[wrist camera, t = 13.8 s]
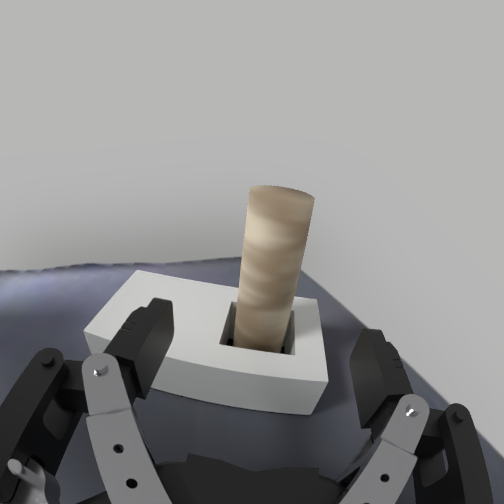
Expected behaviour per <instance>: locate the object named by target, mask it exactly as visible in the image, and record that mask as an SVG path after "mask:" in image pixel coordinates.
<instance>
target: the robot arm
mask: <svg viewBox="0 0 504 504" xmlns="http://www.w3.org/2000/svg"><path fill="white" fill-rule="evenodd" d="M173 336H174V317H173V303H172V301H171V300H166V299H161V298H156V297H154V298H153V299H152V300H151V302H150V303H149V305H148V306H147V307H142V306H141V307H139V308H138V309H136V310H134V311H133V312H131V314H130V315H129V317H128V318H127V319H126V322H124V323H123V325H122V326H121V329H119V330H118V332H117V333H116V335H115V336H114V337H113V339H112V340H111V342H110V343H109V345H108V346H107V347H106V349H105V350H104V352H103V353H97V354H93V355H91V356H89V357H88V358H87V359H86V360H85V361H72V360H65V359H64V357H63V355H62V353H61V352H60V351H59V350H57V349H54V348H46V349H43V350H41V351H39V352H38V353H37V354H36V355H35V356H34V358H33V359H32V361H31V362H30V363H29V365H28V366H27V367H26V369H25V370H24V372H23V373H22V375H21V376H20V377H19V379H18V380H17V382H16V383H15V385H14V386H13V388H12V389H11V391H10V392H9V394H8V395H7V397H6V398H5V400H4V402H3V403H2V405H1V407H0V504H60V502H59V497H60V486H59V483H58V481H57V479H56V478H55V475H56V472H57V470H58V467H59V465H60V462H61V460H62V458H63V455H64V453H65V451H66V448H67V446H68V444H69V441H70V439H71V437H72V435H73V433H74V430H75V428H76V426H77V424H78V422H79V420H80V418H81V416H82V414H83V412H84V413H89V416H87V417H86V421H87V426H88V431H89V435H90V439H91V443H92V447H93V450H94V454H95V458H96V461H97V464H98V467H99V471H100V474H101V477H102V480H103V482H104V485H105V488H106V491H104V492H102V493H100V494H98V495H95V496H93V497H91V498H89V499H86V500H84V501H81V502H79V503H76V504H395V502H396V501H397V499H398V497H399V495H400V494H401V492H402V490H403V488H404V486H405V484H406V482H407V480H408V478H409V476H410V474H411V472H412V471H413V478H414V487H415V497H416V504H493V498H492V492H491V487H490V482H489V477H488V472H487V468H486V464H485V460H484V456H483V453H482V449H481V445H480V442H479V439H478V436H477V432H476V429H475V426H474V423H473V421H472V418H471V415H470V413H469V411H468V409H467V408H466V407H464V406H463V405H461V404H457V403H454V404H451V405H450V406H449V407H448V408H447V409H446V410H445V411H442V410H436V409H431V408H429V406H428V404H427V403H426V401H425V400H424V399H423V398H421V397H420V396H418V395H415V394H414V393H413V391H412V388H411V385H410V382H409V380H408V377H407V374H406V372H405V369H404V368H403V367H404V366H403V364H402V361H400V356H399V354H398V351H397V350H396V349H395V347H394V346H393V345H392V344H391V343H390V342H386V340H385V337H384V335H383V333H382V331H381V330H376V329H363V330H362V332H361V334H360V336H359V339H358V341H357V343H356V345H355V347H354V349H353V352H352V354H351V357H350V371H351V376H352V381H353V386H354V391H355V396H356V402H357V407H358V413H359V419H360V425H361V429H364V428H371V432H372V433H371V434H370V435H369V437H368V438H367V440H366V441H365V443H364V444H363V446H362V447H361V449H360V450H359V452H358V453H357V455H356V456H355V458H354V459H353V460H352V462H351V463H350V465H349V466H348V467H347V468H346V470H345V471H344V472H343V473H342V474H341V475H340V476H339V477H338V478H337V479H336V480H335V481H334V480H332V479H330V478H327V477H324V476H321V475H319V468H288V467H287V468H281V469H275V470H268V471H259V472H252V471H248V470H246V469H243V468H240V467H237V466H235V465H232V464H229V463H227V462H224V461H222V460H218V459H212V458H207V457H202V456H198V455H193V454H189V453H188V457H187V460H173V461H168V462H164V463H160V464H157V463H156V461H155V459H154V457H153V454H152V452H151V450H150V448H149V446H148V444H147V441H146V439H145V436H144V434H143V431H142V429H141V426H140V423H139V421H138V418H137V415H136V412H135V409H134V407H133V403H134V401H135V398H136V397H138V398H141V399H144V400H145V399H146V396H147V394H148V392H149V390H150V388H151V385H152V383H153V381H154V379H155V377H156V375H157V372H158V370H159V368H160V366H161V364H162V362H163V360H164V357H165V355H166V353H167V351H168V349H169V347H170V345H171V343H172V340H173ZM444 449H445V451H446V456H447V460H448V465H449V468H448V472H447V474H446V470H445V465H444V460H443V455H442V450H444Z"/></svg>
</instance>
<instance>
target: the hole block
mask: <svg viewBox="0 0 504 504" xmlns="http://www.w3.org/2000/svg"><path fill="white" fill-rule="evenodd" d="M238 290H239V288H235V287H228V286H222V285H216V284H211V283H205V282H199V281H193V280H188V279H182V278H177V277H171V276H166V275H161V274H156V273H150V272H145V271H140V270H137V271H136V272H135V273H134V274H133V275H132V276H131V277H130V278H129V279H128V280H127V281H126V282H125V283H124V285H123V286H122V287H121V288H120V289H119V290H118V291H117V292H116V293H115V295H114V296H113V297H112V298H111V299H110V300H109V301H108V302H107V304H106V305H105V306H104V307H103V308H102V309H101V310H100V312H99V313H98V314H97V315H96V316H95V317H94V319H93V320H92V321H91V322H90V323H89V324H88V326H87V327H86V328H85V329H84V330H83V331H84V334H85V337H86V340H87V343H88V346H89V349H90V352H91V354H92V355H93V354H97V353H103V352H104V350H105V349H106V347H107V346H108V345H109V343H110V342H111V340H112V339H113V337H114V336H115V335H116V333H117V332H118V330H119V329H121V326H122V325H123V323H124V322H126V319H127V318H128V317H129V315H130V314H131V312H133V311H134V310H136V309H138V308H139V307H141V306H142V307H147V306H148V305H149V303H150V302H151V300H152V299H153V298H154V297H156V298H161V299H166V300H171V301H172V303H173V317H174V336H173V340H172V343H171V345H170V347H169V349H168V351H167V353H166V355H165V357H164V360H163V362H162V364H161V366H160V368H159V370H158V372H157V375H156V377H155V379H154V381H153V383H152V385H151V388H155V389H158V390H162V391H165V392H169V393H173V394H176V395H180V396H184V397H189V398H193V399H197V400H202V401H206V402H211V403H216V404H222V405H227V406H233V407H239V408H246V409H252V410H260V411H268V412H277V413H288V414H301V415H311V414H312V412H313V410H314V408H315V406H316V404H317V403H318V401H319V399H320V397H321V395H322V393H323V391H324V389H325V387H326V385H327V383H328V374H327V366H326V358H325V351H324V344H323V337H322V330H321V323H320V317H319V310H318V304H317V299H309V298H302V297H294V300H293V304H292V308H291V312H290V316H289V321H288V325H287V329H286V333H285V336H284V340H283V344H282V347H285V354H279V353H271V352H264V351H257V350H250V349H244V348H238V347H232V346H226V345H227V341H228V338H229V339H233V338H234V328H235V318H236V309H237V299H238Z"/></svg>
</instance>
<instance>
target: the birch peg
mask: <svg viewBox="0 0 504 504" xmlns="http://www.w3.org/2000/svg"><path fill="white" fill-rule="evenodd" d="M313 204H314V197H313V196H311V195H309V194H307V193H305V192H302V191H299V190H295V189H290V188H285V187H279V186H254V187H251V188H250V192H249V201H248V209H247V218H246V227H245V236H244V244H243V254H242V262H241V271H240V281H239V290H238V299H237V309H236V318H235V328H234V338H233V347H238V348H244V349H250V350H257V351H264V352H271V353H279V354H280V352H281V348H282V344H283V340H284V336H285V333H286V329H287V325H288V321H289V316H290V312H291V308H292V304H293V300H294V296H295V291H296V287H297V283H298V278H299V274H300V269H301V264H302V260H303V255H304V250H305V246H306V241H307V236H308V230H309V226H310V220H311V215H312V210H313Z"/></svg>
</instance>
